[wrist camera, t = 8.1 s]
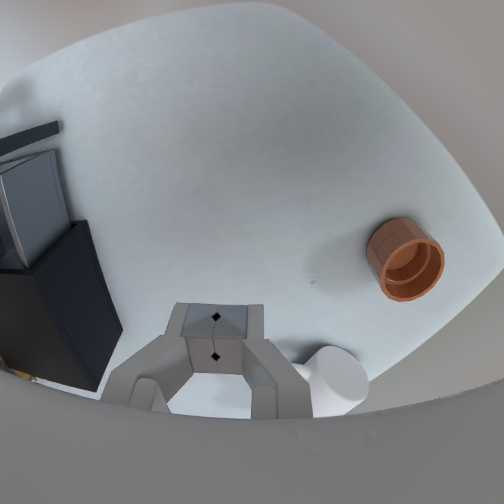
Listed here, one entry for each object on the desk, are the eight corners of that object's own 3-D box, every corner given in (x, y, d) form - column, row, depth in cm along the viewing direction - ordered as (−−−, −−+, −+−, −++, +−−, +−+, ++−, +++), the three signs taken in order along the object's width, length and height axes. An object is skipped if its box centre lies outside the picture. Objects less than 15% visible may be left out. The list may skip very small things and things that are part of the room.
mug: (362, 354, 34) (376, 406, 27) (315, 394, 39) (321, 441, 32) (282, 325, 32) (286, 385, 25) (240, 372, 36) (237, 426, 29)
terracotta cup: (370, 214, 25) (389, 238, 21) (429, 216, 25) (452, 238, 21) (360, 274, 28) (373, 303, 24) (414, 272, 28) (432, 299, 24)
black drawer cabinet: (0, 227, 26) (-49, 270, 18) (87, 219, 26) (31, 275, 17) (39, 319, 34) (8, 367, 25) (123, 330, 33) (96, 392, 25)
